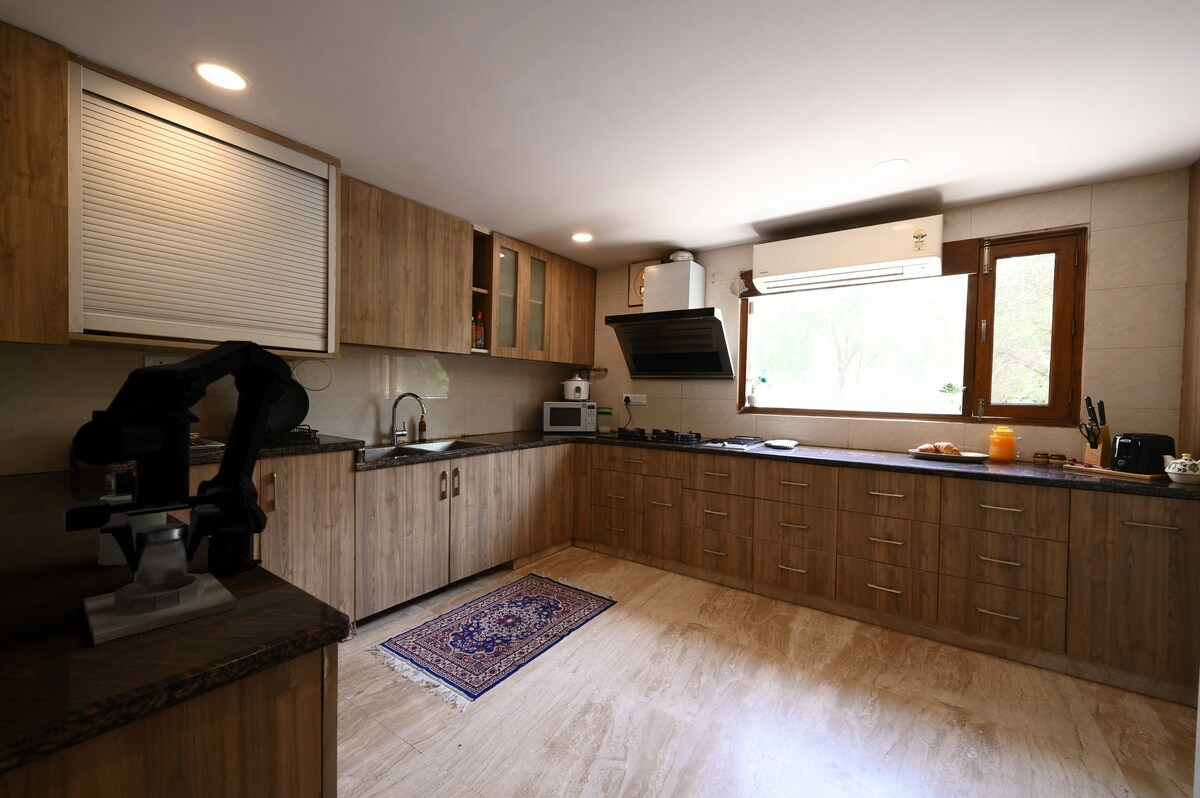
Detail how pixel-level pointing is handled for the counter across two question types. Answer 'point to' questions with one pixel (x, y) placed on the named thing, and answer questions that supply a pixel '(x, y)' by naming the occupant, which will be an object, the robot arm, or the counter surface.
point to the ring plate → (155, 606)
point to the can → (109, 546)
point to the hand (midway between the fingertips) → (161, 566)
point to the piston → (161, 553)
